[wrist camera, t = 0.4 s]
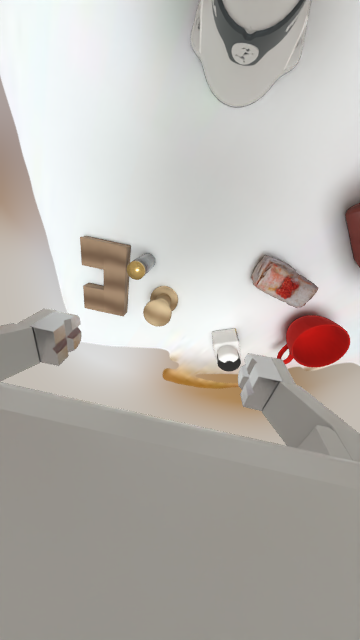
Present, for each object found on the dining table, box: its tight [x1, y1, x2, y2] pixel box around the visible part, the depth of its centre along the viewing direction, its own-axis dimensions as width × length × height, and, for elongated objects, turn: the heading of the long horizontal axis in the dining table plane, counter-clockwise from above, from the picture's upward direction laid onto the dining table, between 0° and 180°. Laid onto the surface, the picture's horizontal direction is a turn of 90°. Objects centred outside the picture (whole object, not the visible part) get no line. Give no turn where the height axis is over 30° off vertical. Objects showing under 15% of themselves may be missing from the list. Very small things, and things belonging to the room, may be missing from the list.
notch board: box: [80, 236, 131, 316], centre depth 54 cm, size 20×12×3 cm, turn 169°
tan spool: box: [143, 286, 178, 326], centre depth 53 cm, size 8×8×10 cm
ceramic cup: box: [277, 315, 350, 367], centre depth 53 cm, size 13×17×10 cm
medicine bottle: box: [212, 328, 241, 371], centre depth 56 cm, size 7×7×12 cm
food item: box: [251, 255, 318, 308], centre depth 46 cm, size 14×8×10 cm, turn 66°
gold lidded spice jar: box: [127, 253, 155, 280], centre depth 48 cm, size 4×4×11 cm
